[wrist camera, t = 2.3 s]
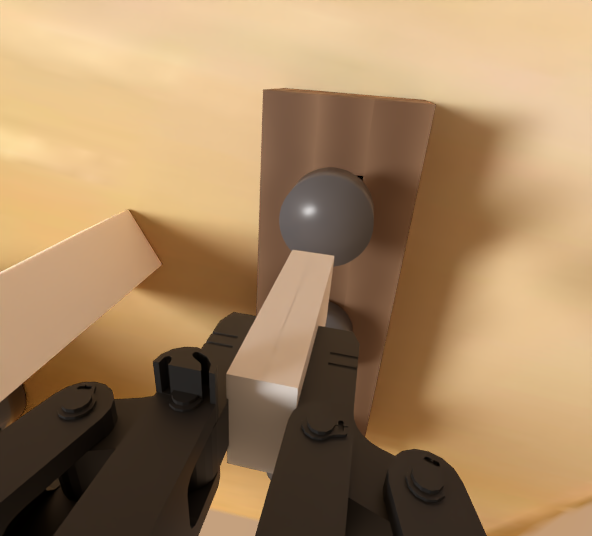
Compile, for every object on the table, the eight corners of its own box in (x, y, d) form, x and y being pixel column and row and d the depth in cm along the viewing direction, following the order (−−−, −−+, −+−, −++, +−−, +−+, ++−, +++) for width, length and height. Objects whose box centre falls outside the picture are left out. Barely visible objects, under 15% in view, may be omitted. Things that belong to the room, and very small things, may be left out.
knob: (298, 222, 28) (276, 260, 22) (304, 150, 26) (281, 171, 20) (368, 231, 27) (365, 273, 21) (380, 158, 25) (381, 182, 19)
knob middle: (295, 319, 35) (277, 368, 29) (299, 269, 32) (281, 311, 26) (351, 328, 34) (345, 381, 28) (359, 278, 32) (355, 323, 26)
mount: (267, 408, 43) (252, 454, 37) (284, 88, 28) (263, 89, 23) (359, 426, 41) (356, 477, 36) (424, 100, 27) (435, 104, 22)
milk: (117, 282, 39) (-141, 483, 20) (81, 229, 37) (-245, 395, 18) (164, 263, 37) (-74, 468, 18) (129, 206, 35) (-183, 366, 16)
